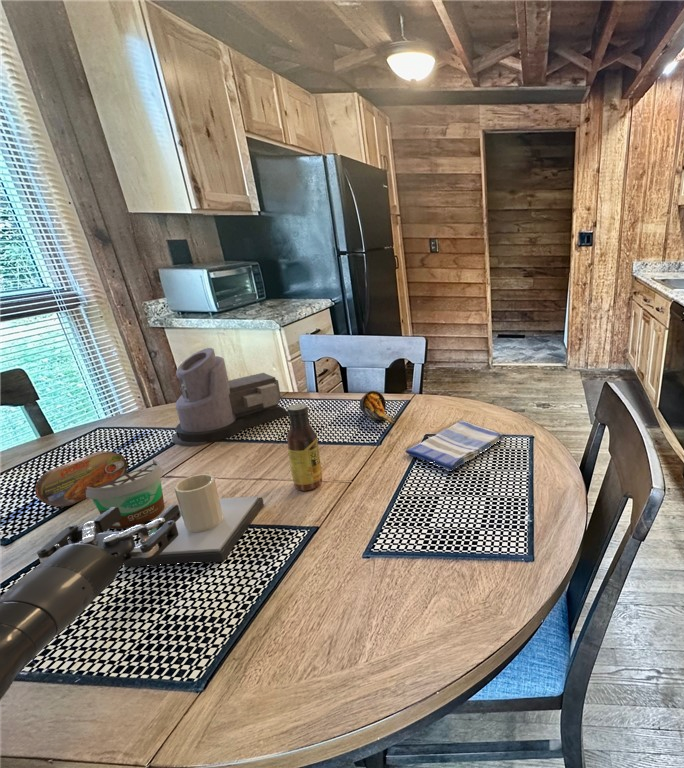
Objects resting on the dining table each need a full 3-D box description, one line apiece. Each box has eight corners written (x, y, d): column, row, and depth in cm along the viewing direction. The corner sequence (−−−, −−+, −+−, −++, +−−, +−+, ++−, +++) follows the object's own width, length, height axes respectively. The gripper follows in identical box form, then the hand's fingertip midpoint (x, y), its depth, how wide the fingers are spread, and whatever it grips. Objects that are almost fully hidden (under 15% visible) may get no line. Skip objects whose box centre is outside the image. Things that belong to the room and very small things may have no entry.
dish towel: (505, 440, 123) (505, 432, 122) (452, 475, 105) (452, 465, 104) (460, 425, 132) (460, 417, 131) (404, 454, 113) (403, 445, 112)
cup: (178, 533, 78) (166, 492, 75) (197, 513, 83) (187, 474, 80) (213, 531, 79) (202, 491, 76) (229, 511, 84) (220, 473, 81)
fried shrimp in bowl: (376, 394, 143) (410, 389, 132) (374, 426, 141) (408, 423, 130) (352, 390, 135) (386, 385, 125) (349, 424, 134) (384, 421, 123)
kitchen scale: (124, 568, 73) (120, 556, 72) (184, 508, 89) (181, 498, 88) (223, 562, 75) (220, 550, 74) (263, 505, 91) (261, 494, 90)
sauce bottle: (321, 490, 97) (310, 412, 90) (291, 494, 95) (278, 414, 88) (324, 475, 103) (314, 401, 96) (296, 478, 101) (284, 403, 94)
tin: (49, 515, 85) (35, 479, 83) (40, 511, 86) (25, 476, 84) (132, 477, 99) (122, 446, 96) (123, 475, 100) (113, 443, 97)
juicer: (185, 451, 111) (162, 364, 103) (163, 434, 120) (140, 352, 111) (295, 416, 135) (283, 342, 126) (269, 404, 143) (257, 334, 135)
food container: (118, 540, 79) (103, 496, 76) (98, 532, 81) (82, 488, 78) (186, 504, 90) (175, 464, 87) (167, 497, 92) (155, 458, 89)
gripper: (112, 564, 51) (190, 488, 66) (-23, 572, 49) (89, 492, 64) (128, 610, 53) (200, 527, 69) (1, 619, 52) (104, 532, 67)
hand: (147, 510), depth 66 cm, fingers open, 8 cm apart
